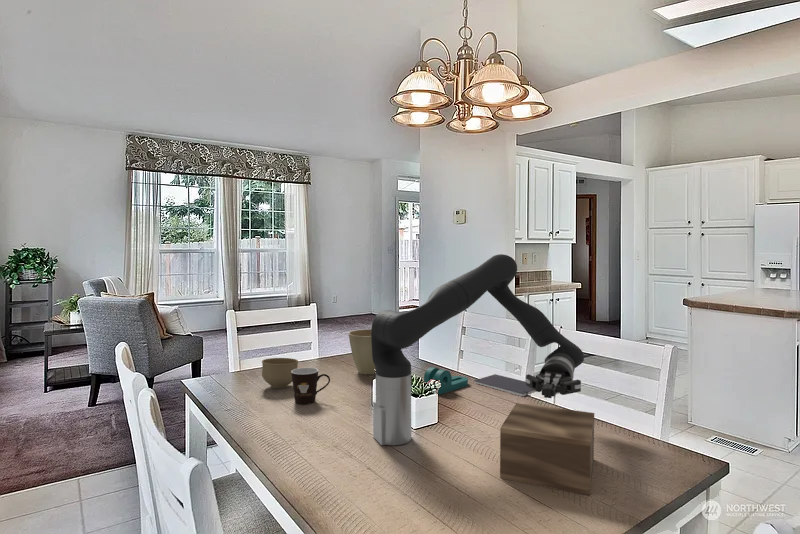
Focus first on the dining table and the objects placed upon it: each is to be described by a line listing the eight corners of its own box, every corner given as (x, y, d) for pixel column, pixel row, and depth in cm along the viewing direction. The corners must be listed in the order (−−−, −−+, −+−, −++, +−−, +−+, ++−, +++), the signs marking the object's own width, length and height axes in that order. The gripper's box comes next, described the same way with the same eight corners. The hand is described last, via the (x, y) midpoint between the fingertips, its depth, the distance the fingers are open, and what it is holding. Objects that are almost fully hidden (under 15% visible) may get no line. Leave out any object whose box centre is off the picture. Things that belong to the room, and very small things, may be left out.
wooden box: (516, 446, 120) (516, 406, 120) (593, 459, 113) (594, 417, 112) (500, 477, 104) (500, 432, 103) (589, 495, 96) (590, 446, 96)
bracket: (438, 395, 162) (438, 372, 161) (423, 391, 167) (423, 368, 166) (471, 384, 174) (471, 363, 174) (457, 381, 179) (457, 360, 179)
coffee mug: (286, 403, 153) (285, 372, 152) (301, 396, 161) (301, 366, 160) (317, 408, 149) (317, 376, 148) (331, 400, 156) (331, 369, 156)
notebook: (544, 390, 168) (495, 378, 184) (544, 386, 168) (495, 374, 184) (522, 398, 160) (473, 384, 176) (522, 393, 160) (473, 380, 176)
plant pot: (341, 372, 191) (340, 332, 190) (370, 365, 201) (370, 328, 201) (364, 379, 180) (364, 337, 180) (394, 372, 190) (394, 332, 190)
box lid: (516, 406, 120) (516, 402, 120) (594, 417, 112) (594, 413, 112) (500, 432, 103) (500, 427, 103) (590, 446, 96) (590, 441, 96)
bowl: (306, 385, 173) (305, 358, 172) (279, 395, 162) (279, 365, 162) (281, 380, 180) (280, 354, 179) (254, 389, 169) (253, 360, 168)
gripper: (530, 356, 123) (517, 373, 107) (585, 361, 117) (580, 379, 102) (529, 385, 123) (516, 406, 107) (585, 392, 118) (579, 414, 102)
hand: (547, 393), depth 104 cm, fingers closed
